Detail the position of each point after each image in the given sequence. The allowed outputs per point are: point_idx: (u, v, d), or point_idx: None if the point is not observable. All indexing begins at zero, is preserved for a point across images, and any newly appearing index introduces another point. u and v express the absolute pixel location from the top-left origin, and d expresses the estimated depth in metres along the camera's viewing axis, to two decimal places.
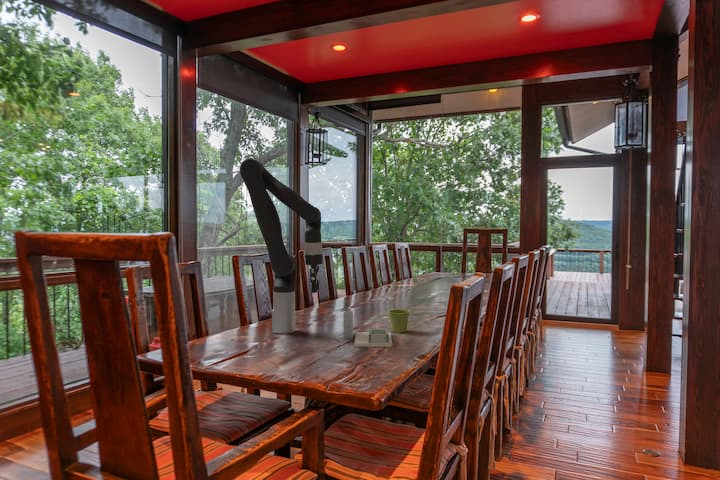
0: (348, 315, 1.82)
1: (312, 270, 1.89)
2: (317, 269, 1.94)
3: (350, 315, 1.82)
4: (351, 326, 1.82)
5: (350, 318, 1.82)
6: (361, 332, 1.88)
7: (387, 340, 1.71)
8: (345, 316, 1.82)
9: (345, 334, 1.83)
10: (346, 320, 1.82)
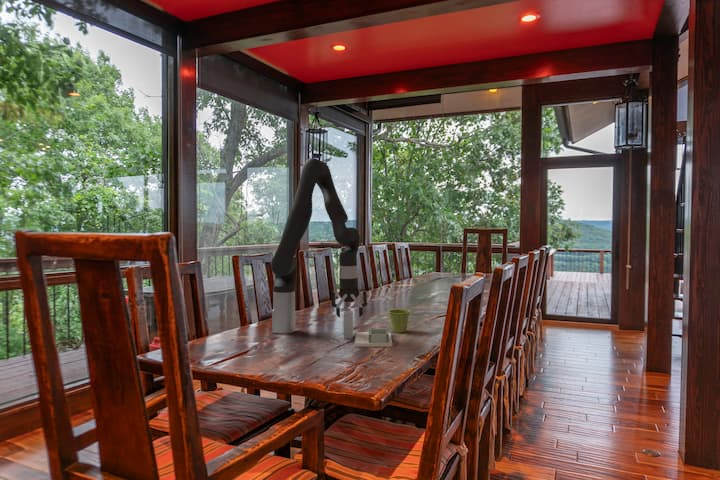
0: (348, 315, 1.82)
1: (365, 292, 1.85)
2: None
3: (350, 315, 1.82)
4: (351, 326, 1.83)
5: (350, 318, 1.82)
6: (361, 332, 1.88)
7: (387, 340, 1.71)
8: (345, 316, 1.82)
9: (345, 334, 1.83)
10: (346, 320, 1.82)
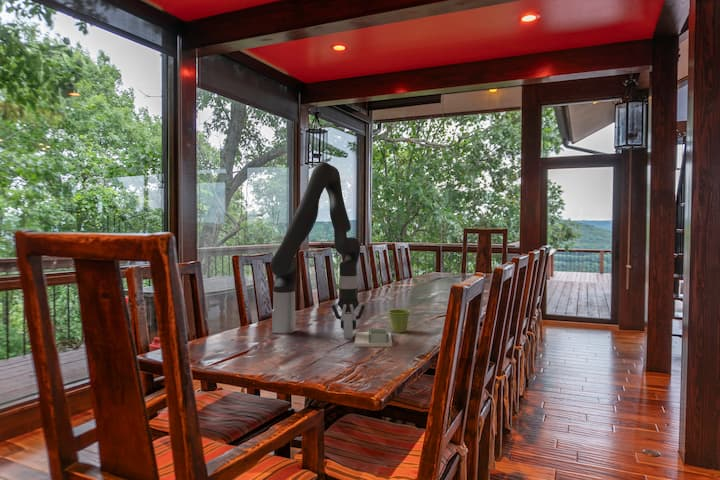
0: (348, 315, 1.82)
1: None
2: None
3: (350, 315, 1.82)
4: (351, 326, 1.83)
5: (350, 318, 1.82)
6: (361, 332, 1.88)
7: (387, 340, 1.71)
8: (345, 316, 1.83)
9: (345, 334, 1.83)
10: (346, 320, 1.83)
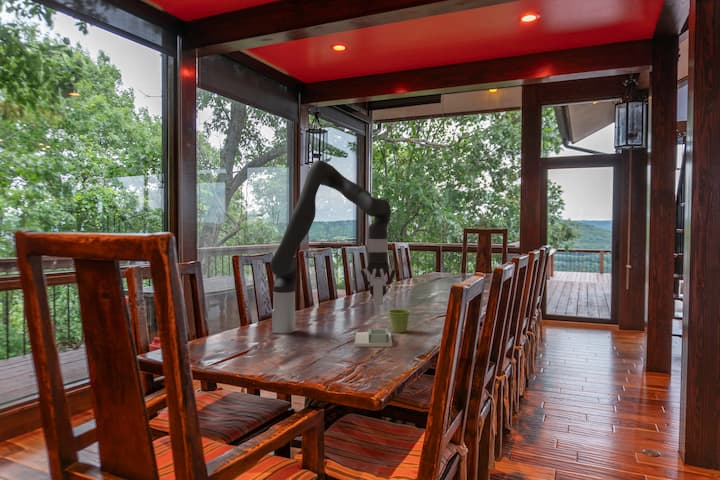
0: (378, 280, 1.73)
1: (394, 272, 1.75)
2: None
3: (380, 280, 1.73)
4: (381, 291, 1.73)
5: (380, 283, 1.73)
6: (361, 332, 1.88)
7: (387, 340, 1.71)
8: (375, 281, 1.73)
9: (375, 300, 1.73)
10: (376, 286, 1.73)
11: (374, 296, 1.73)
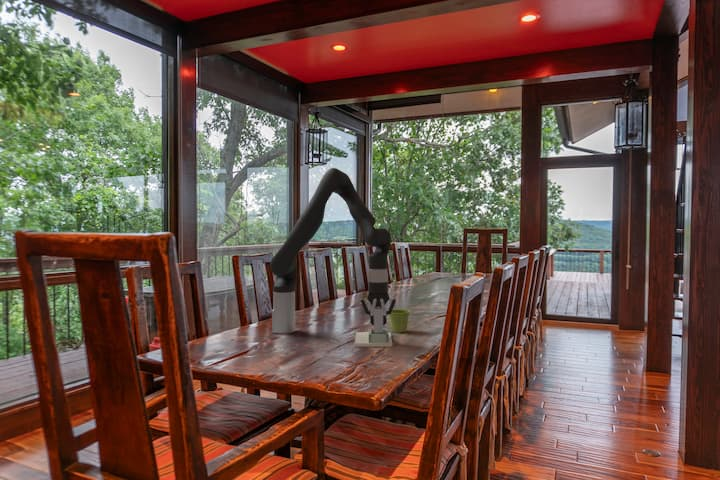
0: (378, 310, 1.73)
1: (395, 301, 1.76)
2: None
3: (381, 310, 1.73)
4: (382, 321, 1.73)
5: (381, 313, 1.73)
6: (361, 332, 1.88)
7: (387, 340, 1.71)
8: (375, 311, 1.73)
9: (375, 330, 1.73)
10: (377, 316, 1.73)
11: (374, 326, 1.73)
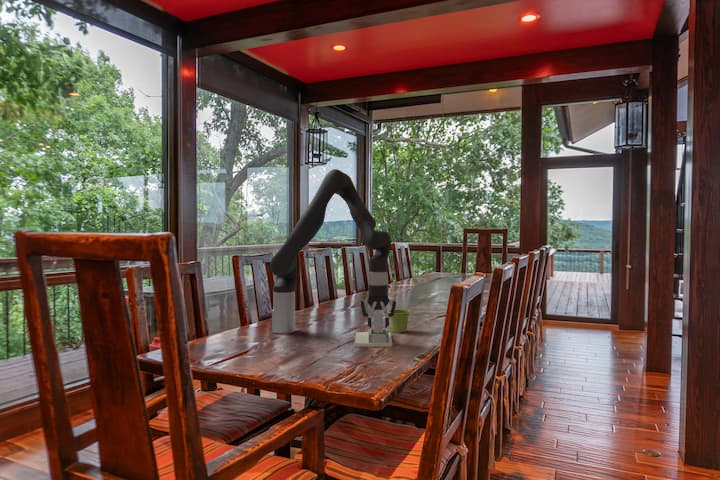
0: (378, 316, 1.73)
1: (395, 303, 1.76)
2: None
3: (380, 316, 1.73)
4: (381, 328, 1.73)
5: (380, 319, 1.73)
6: (361, 332, 1.88)
7: (387, 340, 1.71)
8: (375, 317, 1.73)
9: None
10: (377, 322, 1.73)
11: (374, 332, 1.73)
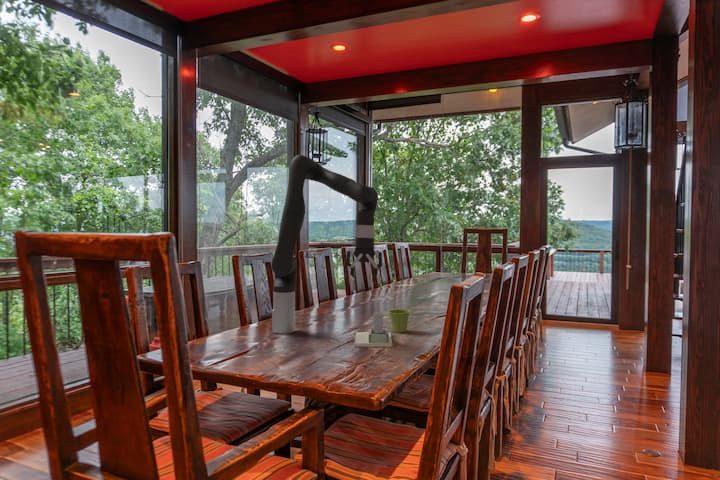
0: (378, 316, 1.73)
1: (381, 253, 1.82)
2: None
3: (380, 316, 1.73)
4: (381, 328, 1.73)
5: (380, 319, 1.73)
6: (361, 332, 1.88)
7: (387, 340, 1.71)
8: (375, 317, 1.73)
9: None
10: (377, 322, 1.73)
11: (374, 332, 1.73)
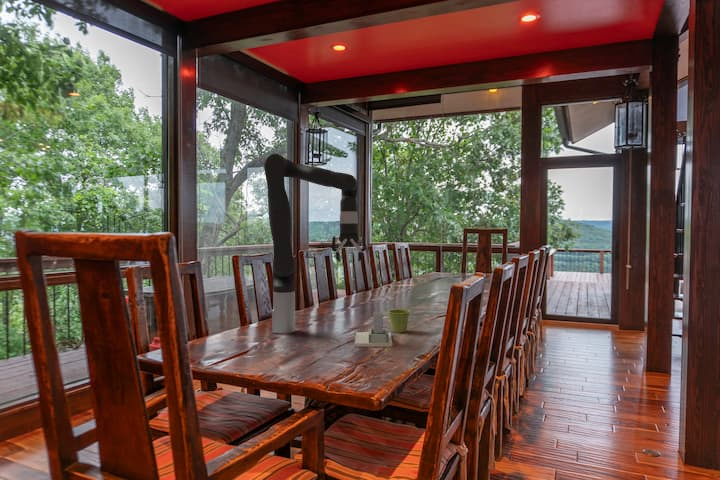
0: (378, 316, 1.73)
1: None
2: None
3: (380, 316, 1.73)
4: (381, 328, 1.73)
5: (380, 319, 1.73)
6: (361, 332, 1.88)
7: (387, 340, 1.71)
8: (375, 317, 1.73)
9: None
10: (377, 322, 1.73)
11: (374, 332, 1.73)
